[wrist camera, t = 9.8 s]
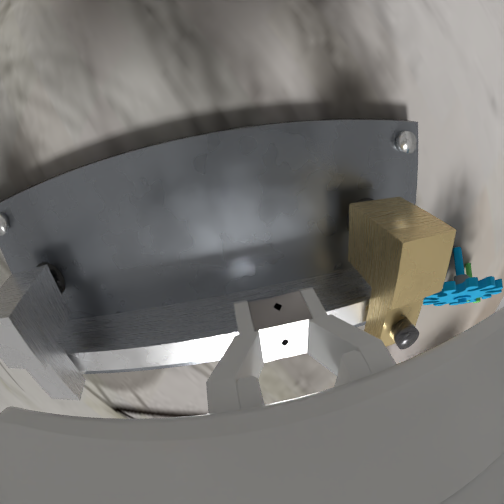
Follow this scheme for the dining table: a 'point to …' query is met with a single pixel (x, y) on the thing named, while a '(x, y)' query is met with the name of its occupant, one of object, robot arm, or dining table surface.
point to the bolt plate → (207, 213)
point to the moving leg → (398, 263)
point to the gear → (464, 286)
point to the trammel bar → (137, 327)
